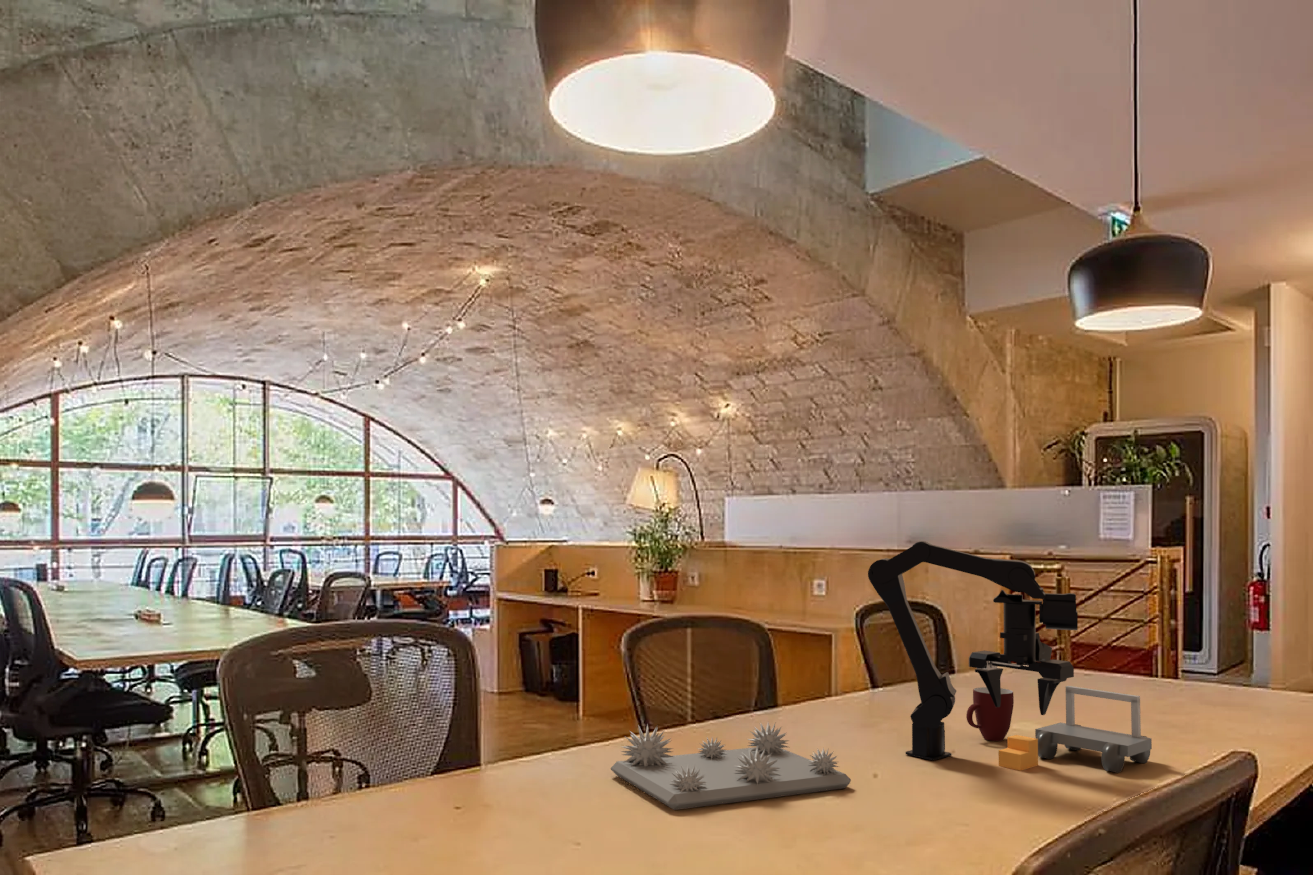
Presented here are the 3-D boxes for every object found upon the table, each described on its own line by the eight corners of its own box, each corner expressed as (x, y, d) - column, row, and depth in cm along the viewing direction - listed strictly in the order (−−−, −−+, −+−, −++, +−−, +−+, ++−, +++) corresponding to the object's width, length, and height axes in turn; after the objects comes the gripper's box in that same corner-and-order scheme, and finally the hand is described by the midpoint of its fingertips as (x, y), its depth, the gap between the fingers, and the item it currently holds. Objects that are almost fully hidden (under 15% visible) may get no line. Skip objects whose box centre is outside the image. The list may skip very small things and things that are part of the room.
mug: (985, 746, 207) (985, 696, 208) (956, 738, 214) (956, 689, 215) (1022, 741, 212) (1021, 692, 213) (992, 733, 219) (992, 686, 220)
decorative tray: (671, 817, 159) (671, 752, 160) (606, 777, 182) (606, 720, 183) (855, 792, 174) (855, 733, 175) (773, 758, 198) (773, 705, 198)
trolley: (1120, 776, 185) (1119, 705, 186) (1027, 757, 198) (1026, 691, 199) (1158, 762, 195) (1157, 695, 196) (1068, 745, 209) (1067, 682, 210)
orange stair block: (1020, 771, 188) (1020, 743, 189) (998, 766, 192) (998, 739, 192) (1038, 766, 193) (1037, 738, 193) (1016, 761, 196) (1016, 734, 196)
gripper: (1087, 629, 193) (1088, 713, 192) (997, 620, 207) (997, 698, 206) (1058, 633, 186) (1059, 721, 185) (966, 623, 200) (967, 705, 199)
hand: (1020, 710), depth 194 cm, fingers open, 9 cm apart
